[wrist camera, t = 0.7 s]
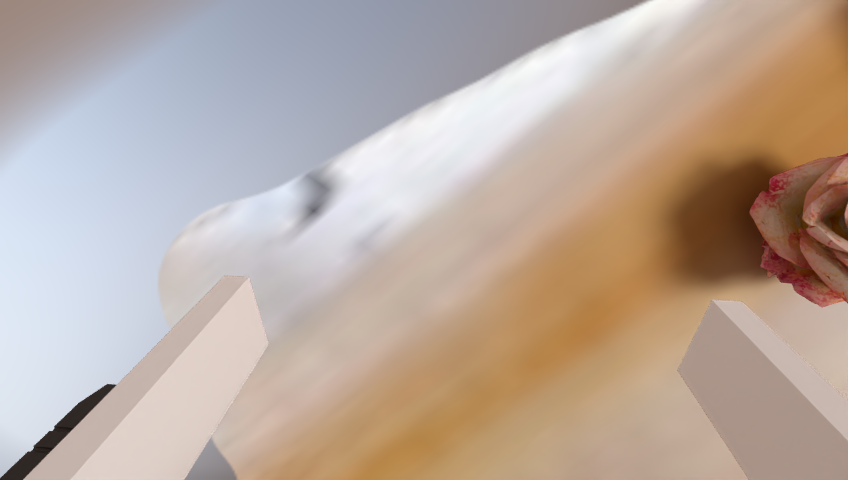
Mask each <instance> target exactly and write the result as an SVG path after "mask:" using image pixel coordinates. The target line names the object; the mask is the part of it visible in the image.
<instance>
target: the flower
mask: <svg viewBox="0 0 848 480" xmlns="http://www.w3.org/2000/svg"><path fill="white" fill-rule="evenodd" d="M798 208H799V209H798ZM756 213H757V214H756ZM750 215H751V217H752V218H753V220H754V222H755V224H756V226H757V228H758V229H759V231H760V233H761V236H762V237H763V239H764V241H763V243H762V247H763V248H765V251H764V253H763V255H762V257H761V258H762V263H761V266H760V267H762V268H764V269H766V270H768V273H767V276H768V278H769V277H771V276H773V275H777V278H778V279H779V280H780V282H782V283H791V284H792V285H793V288H794V290H795V291H796V292H797V293H798V294H800V295H801V296H803V297H805V298H806V299H808V300H809V301H811V302H813V303H815V304H818V305H819V306H821V307H825V306H828V305H830V304H834V303H838V302H842V301H846V302H847V303H848V153H847V154H844V155H841V156H837V157H828V158H820V159H817V160H814V161H812V162H809V163H806V164H803V165H801V166H798V167H795V168H793V169H790V170H788V171H785V172H783V173H780V174H778V175H775V176H773V177H772V178H771V179H770V181H769V190H768V192H766V191H761V192H760V193H759V196H758V197H757V199H756V200H755V202H754V204H753V206H752V207H751V209H750ZM756 217H757V218H756ZM761 221H762V222H764V223H762V222H761ZM783 223H784V224H783Z"/></svg>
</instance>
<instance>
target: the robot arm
mask: <svg viewBox="0 0 848 480" xmlns="http://www.w3.org/2000/svg"><path fill="white" fill-rule="evenodd" d="M268 345H269V344H268V340H267V337H266V333H265V330H264V326H263V323H262V320H261V316H260V313H259V309H258V306H257V302H256V299H255V295H254V292H253V289H252V285H251V282H250V278H249V277H240V276H224V277H223V278H222V279H221V280H220V281H219V282H218V283H217V284H216V285H215V286H214V287H213V288H212V289H211V290H210V291H209V292H208V293H207V294H206V295H205V296H204V297H203V298H202V299H201V300H200V301H199V302H198V303H197V304H196V305H195V306H194V307H193V308H192V309H191V310H190V311H189V312H188V313H187V314H186V315H185V316H184V317H183V319H182V320H181V321H180V322H179V323H178V324H177V325H176V326H175V327H174V328H173V329H172V330H171V331H170V332H169V333H168V334H167V335H166V336H165V337H164V338H163V339H162V340H161V341H160V342H159V343H158V344H157V345H156V346H155V347H154V348H153V349H152V350H151V351H150V352H149V353H148V354H147V355H146V356H145V357H144V358H143V359H142V360H141V361H140V362H139V363H138V364H137V365H136V366H135V367H134V368H133V369H132V370H131V371H130V372H129V373H128V374H127V375H126V376H125V377H124V378H123V379H122V380H121V381H120V382H119V383H118V384H117V385H112V384H107V385H105V386H104V387H102V388H101V389H100V390H98V391H97V392H95V393H93V394H92V395H90V396H89V397H87V398H86V399H84V400H83V401H81V402H80V403H78V404H77V405H76V406H75V407H74V408H73V409H72V410H71V411H70V412H69V413H68V414H67V415H66V416H65V417H64V418H63V419H62V420H61V421H59V422H58V423H57V425H55V426H54V427H55V428H54V430H53V431H49V432H48V433H47V434H46V435H45V436H44V437H43V438H42V439H41V440H40V441H39V442H38V443H36V445H34V449H33V450H32V451H31V452H27V453H26V454H25V455H24V456H23V457H22V458H21V459H20V460H19V461H18V462H17V463H16V464H15V465H14V466H12V467H11V468H10V469H9V470H8V471H7V472H6V473H5V474H4V475H3V476H2V477H1V478H0V480H184V479H185V478H186V476H187V474H188V473H189V471H190V470H191V468H192V466H193V465H194V463H195V462H196V460H197V458H198V457H199V455H200V454H201V452H202V450H203V448H204V447H205V446H206V444H207V442H208V441H209V439H210V438H211V436H212V434H213V433H214V431H215V430H216V428H217V426H218V425H219V423H220V422H221V420H222V418H223V417H224V415H225V413H226V412H227V410H228V409H229V407H230V405H231V404H232V402H233V401H234V399H235V397H236V396H237V394H238V393H239V391H240V389H241V388H242V386H243V385H244V383H245V381H246V380H247V378H248V377H249V375H250V373H251V372H252V370H253V369H254V367H255V365H256V364H257V362H258V361H259V359H260V357H261V356H262V354H263V353H264V351H265V349H266V348H267V346H268ZM677 371H678V372H679V374H680V375H681V377H682V378H683V380H684V381H685V383H686V384H687V386H688V387H689V389H690V390H691V392H692V394H693V395H694V397H695V398H696V400H697V401H698V403H699V404H700V406H701V407H702V409H703V410H704V412H705V413H706V415H707V416H708V418H709V419H710V421H711V422H712V424H713V426H714V427H715V429H716V430H717V432H718V433H719V435H720V436H721V438H722V439H723V441H724V442H725V444H726V445H727V447H728V448H729V450H730V451H731V453H732V454H733V456H734V457H735V459H736V461H737V462H738V464H739V465H740V467H741V468H742V470H743V471H744V473H745V474H746V476H747V477H748V479H749V480H848V400H847V399H846V398H845V397H844V396H843V395H842V394H841V393H840V392H839V391H837V390H836V389H835V388H834V387H833V386H832V385H831V384H830V383H829V382H828V381H827V380H826V379H825V378H823V377H822V376H821V375H820V374H819V373H818V372H817V371H816V370H815V369H814V368H813V367H812V366H811V365H810V364H808V363H807V362H806V361H805V360H804V359H803V358H802V357H801V356H800V355H799V354H798V353H797V352H796V351H794V350H793V349H792V348H791V347H790V346H789V345H788V344H787V343H786V342H785V341H784V340H783V339H782V338H781V337H779V336H778V335H777V334H776V333H775V332H774V331H773V330H772V329H771V328H770V327H769V326H768V325H767V324H766V323H764V322H763V321H762V320H761V319H760V318H759V317H758V316H757V315H756V314H755V313H754V312H753V311H752V310H750V309H749V308H748V307H747V306H746V305H745V304H744V303H743V302H742V301H726V300H711V302H710V304H709V307H708V309H707V311H706V313H705V315H704V317H703V319H702V321H701V323H700V325H699V327H698V329H697V331H696V333H695V335H694V337H693V339H692V341H691V343H690V345H689V348H688V350H687V352H686V354H685V356H684V358H683V360H682V362H681V364H680V366H679V368H678V370H677Z"/></svg>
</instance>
